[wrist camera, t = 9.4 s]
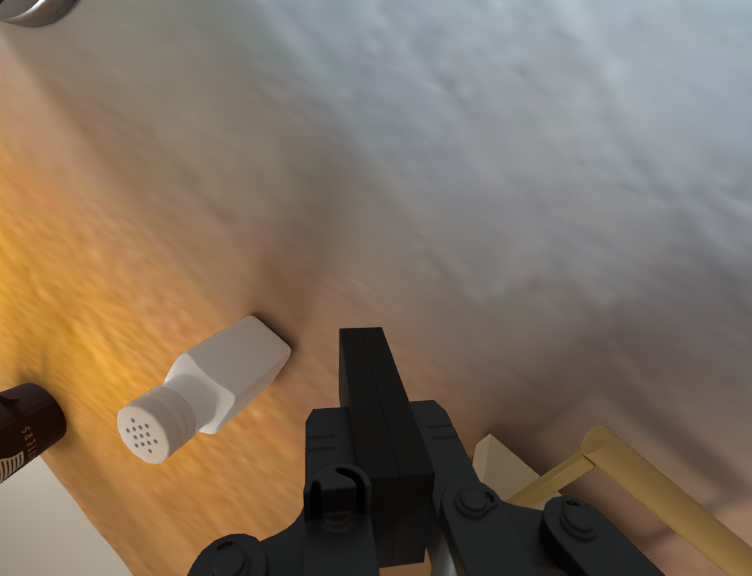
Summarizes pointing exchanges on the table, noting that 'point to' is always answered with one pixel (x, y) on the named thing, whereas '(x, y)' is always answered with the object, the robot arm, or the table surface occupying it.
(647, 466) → the drawer
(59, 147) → the table surface
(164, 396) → the pepper shaker
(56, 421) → the coffee mug
